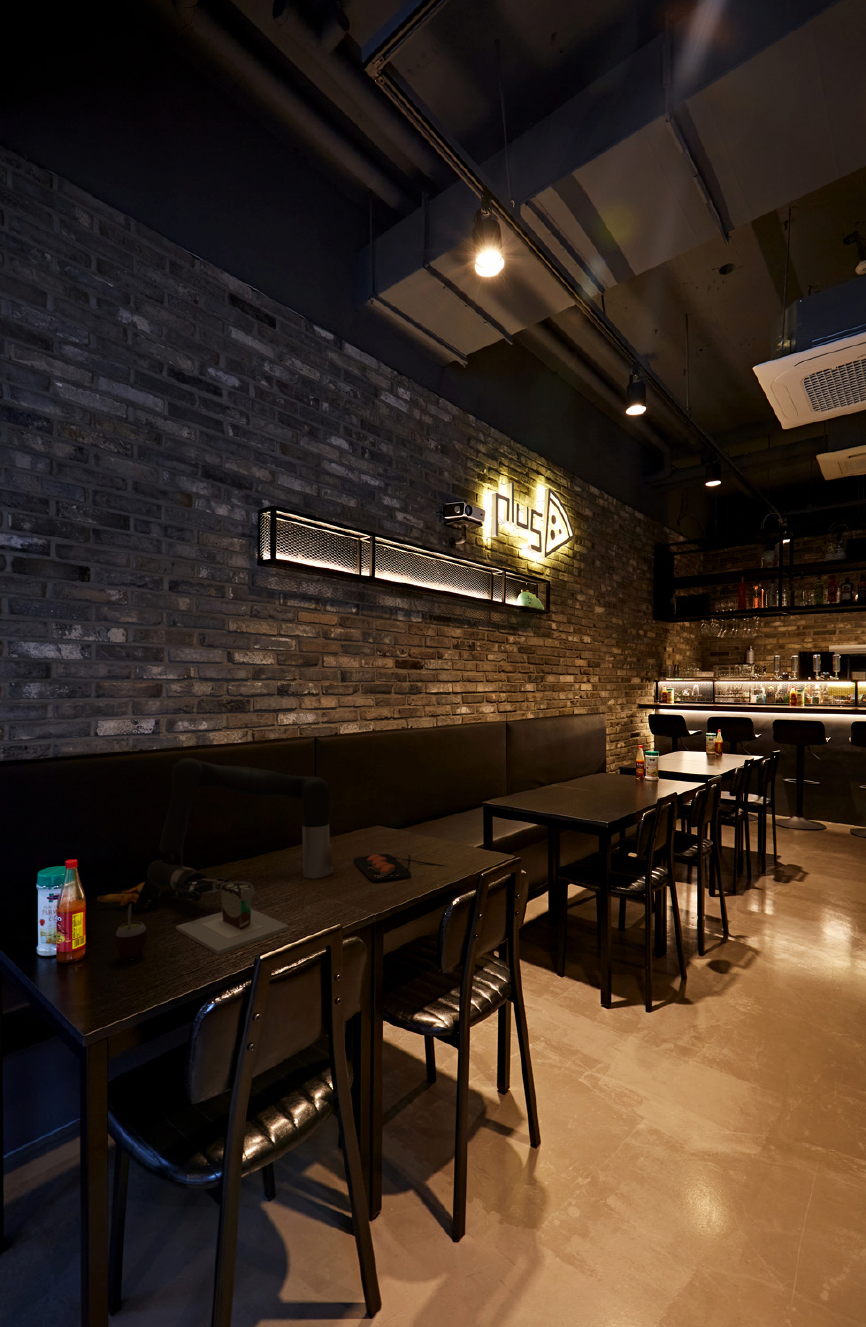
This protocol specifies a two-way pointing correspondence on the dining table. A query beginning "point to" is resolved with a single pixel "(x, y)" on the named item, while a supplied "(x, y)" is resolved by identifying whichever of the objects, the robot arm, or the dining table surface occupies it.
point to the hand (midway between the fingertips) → (213, 893)
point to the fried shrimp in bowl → (136, 897)
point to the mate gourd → (130, 939)
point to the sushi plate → (384, 866)
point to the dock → (230, 931)
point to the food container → (237, 903)
